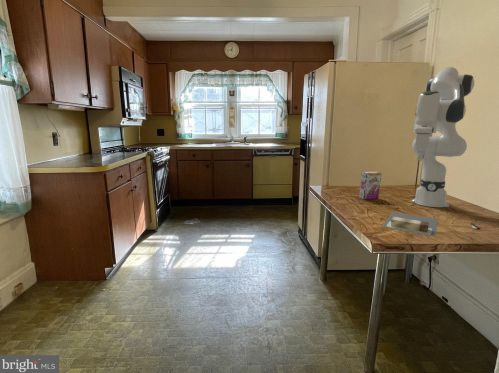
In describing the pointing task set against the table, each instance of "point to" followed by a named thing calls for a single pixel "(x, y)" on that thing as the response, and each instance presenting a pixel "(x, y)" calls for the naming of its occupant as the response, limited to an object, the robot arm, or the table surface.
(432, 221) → the rubber mat
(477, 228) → the chocolate bar
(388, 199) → the table surface
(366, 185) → the candy bar box
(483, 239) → the table surface
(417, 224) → the beige rectangular block
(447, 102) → the robot arm
